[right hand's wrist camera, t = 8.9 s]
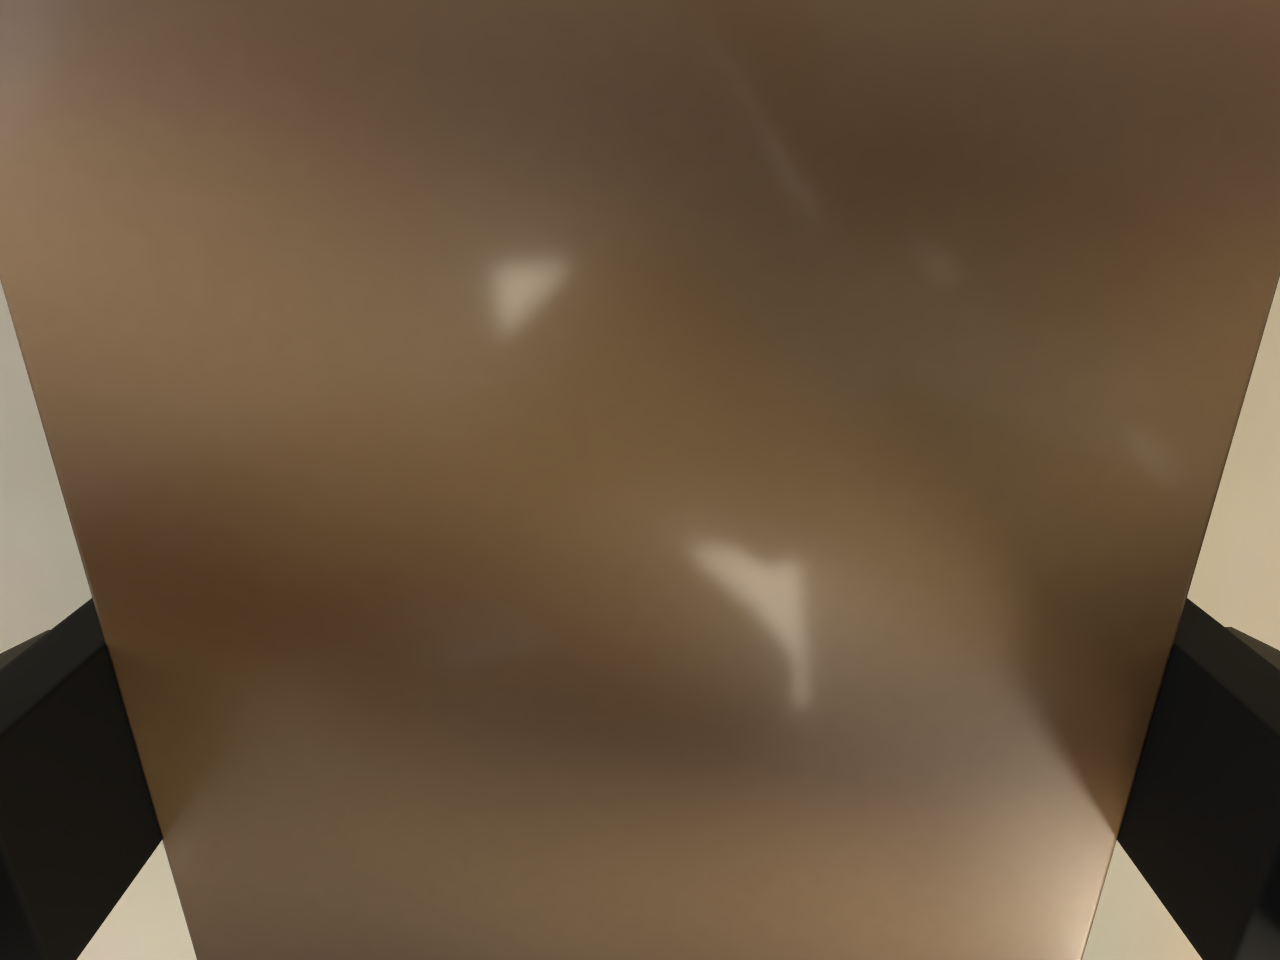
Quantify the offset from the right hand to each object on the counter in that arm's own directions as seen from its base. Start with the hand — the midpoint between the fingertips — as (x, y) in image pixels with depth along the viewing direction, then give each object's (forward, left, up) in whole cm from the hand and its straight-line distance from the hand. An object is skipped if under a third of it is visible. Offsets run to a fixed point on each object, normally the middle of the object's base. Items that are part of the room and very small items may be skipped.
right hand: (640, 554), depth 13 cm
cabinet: (+6, -4, -4) cm, 8 cm away
